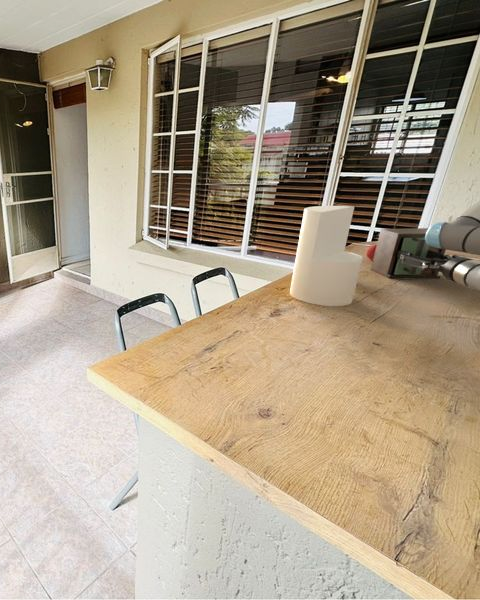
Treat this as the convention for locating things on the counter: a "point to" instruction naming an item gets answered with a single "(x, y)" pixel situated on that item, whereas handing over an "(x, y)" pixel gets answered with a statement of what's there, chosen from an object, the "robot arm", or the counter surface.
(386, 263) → the cabinet
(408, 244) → the door
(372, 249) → the onion
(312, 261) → the cream stepped cylinder
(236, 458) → the counter surface
